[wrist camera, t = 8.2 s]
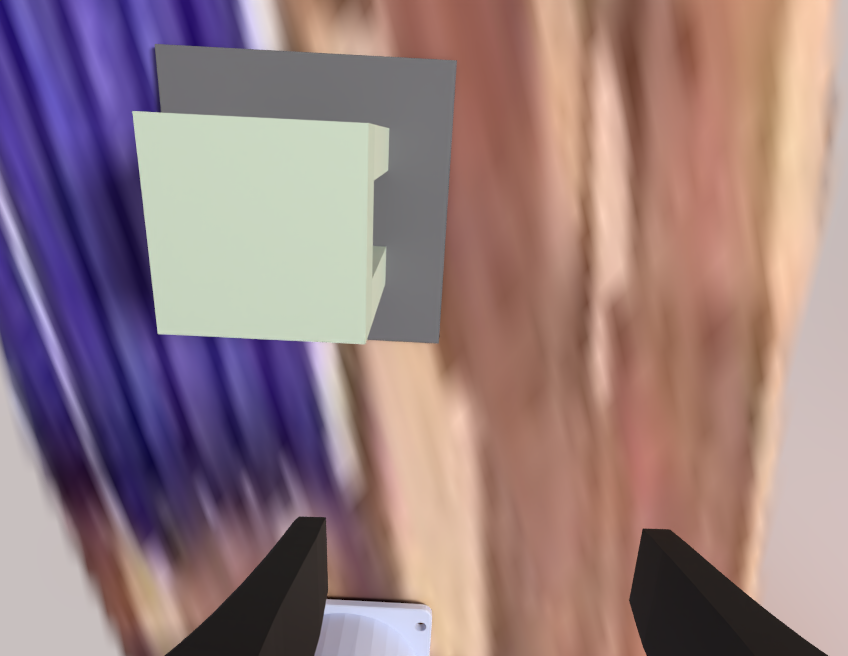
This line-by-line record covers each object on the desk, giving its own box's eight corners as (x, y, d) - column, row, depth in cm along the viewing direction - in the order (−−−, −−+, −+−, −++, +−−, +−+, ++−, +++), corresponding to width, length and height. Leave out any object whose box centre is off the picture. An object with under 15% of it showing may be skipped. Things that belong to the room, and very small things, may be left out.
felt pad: (438, 340, 22) (438, 343, 22) (185, 327, 22) (181, 329, 22) (456, 61, 19) (456, 60, 18) (158, 45, 19) (154, 43, 18)
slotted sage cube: (385, 283, 21) (365, 344, 15) (239, 276, 21) (158, 333, 15) (389, 128, 19) (369, 123, 13) (229, 120, 19) (132, 111, 13)
